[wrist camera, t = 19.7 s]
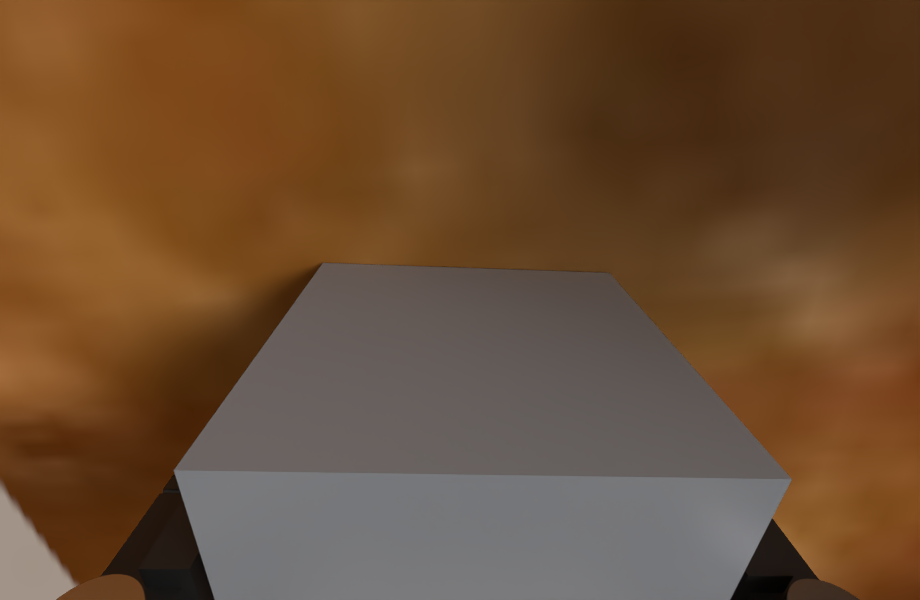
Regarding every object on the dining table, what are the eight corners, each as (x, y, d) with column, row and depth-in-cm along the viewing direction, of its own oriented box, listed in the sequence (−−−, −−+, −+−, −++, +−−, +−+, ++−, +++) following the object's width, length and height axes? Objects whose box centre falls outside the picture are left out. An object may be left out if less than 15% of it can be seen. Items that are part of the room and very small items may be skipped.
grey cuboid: (609, 272, 11) (792, 478, 5) (566, 478, 13) (650, 754, 8) (322, 263, 10) (173, 470, 5) (342, 475, 13) (265, 759, 8)
